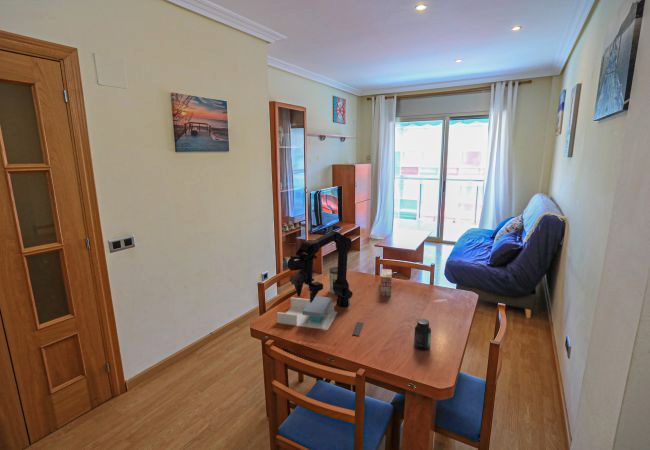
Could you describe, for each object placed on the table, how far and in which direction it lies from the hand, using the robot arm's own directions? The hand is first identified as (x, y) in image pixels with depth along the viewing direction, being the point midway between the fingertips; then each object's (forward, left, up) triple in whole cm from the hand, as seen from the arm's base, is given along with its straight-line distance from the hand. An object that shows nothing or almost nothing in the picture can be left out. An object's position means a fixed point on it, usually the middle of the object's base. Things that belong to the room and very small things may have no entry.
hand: (304, 299), depth 162 cm
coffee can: (-5, -44, -14) cm, 47 cm away
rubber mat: (-21, -3, -14) cm, 26 cm away
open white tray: (+1, -7, -14) cm, 15 cm away
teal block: (-4, -5, -13) cm, 14 cm away
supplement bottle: (-55, +4, -14) cm, 57 cm away
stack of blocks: (-33, -55, -14) cm, 66 cm away
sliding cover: (-4, -7, -7) cm, 11 cm away
